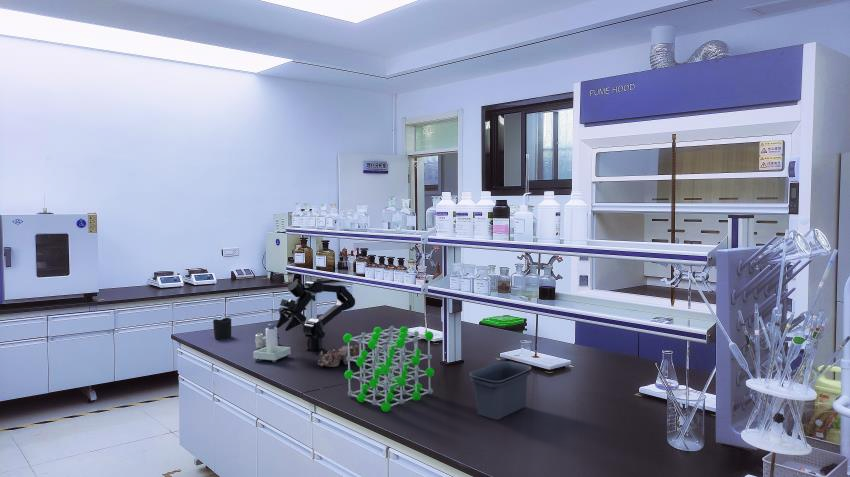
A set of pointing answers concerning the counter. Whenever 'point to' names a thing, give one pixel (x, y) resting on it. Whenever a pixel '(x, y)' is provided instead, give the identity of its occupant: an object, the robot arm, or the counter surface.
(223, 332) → the pen holder
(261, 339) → the valve
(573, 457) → the counter surface
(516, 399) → the storage bin
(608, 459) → the counter surface
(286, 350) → the shallow mint tray
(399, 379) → the molecular structure model
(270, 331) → the bottle
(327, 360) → the mineral formation
